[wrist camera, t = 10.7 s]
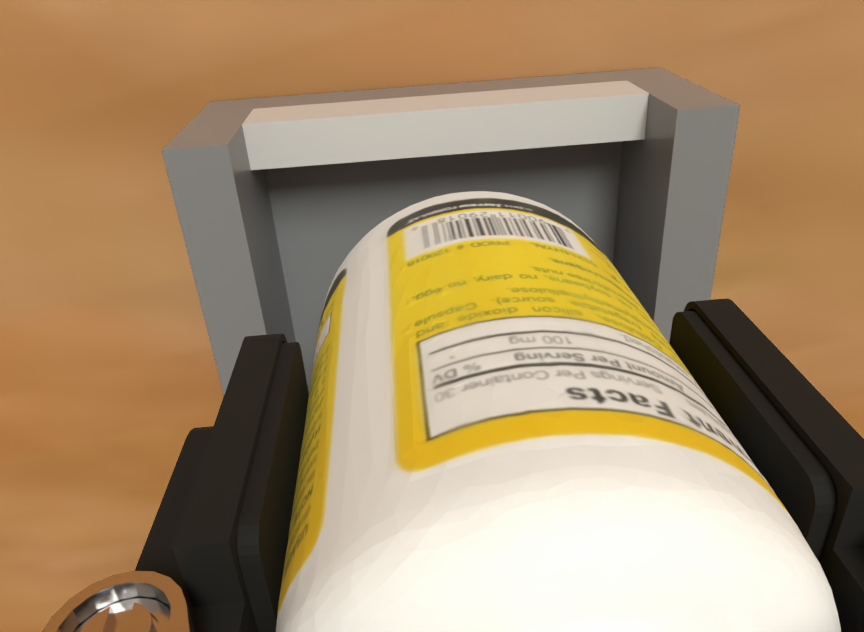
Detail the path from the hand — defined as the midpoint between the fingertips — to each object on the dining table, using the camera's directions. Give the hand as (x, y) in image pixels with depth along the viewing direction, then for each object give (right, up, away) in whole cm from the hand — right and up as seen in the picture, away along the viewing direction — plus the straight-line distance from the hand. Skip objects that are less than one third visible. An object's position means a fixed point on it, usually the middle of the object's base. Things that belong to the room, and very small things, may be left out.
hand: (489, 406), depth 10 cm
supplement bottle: (0, +1, +2) cm, 3 cm away
